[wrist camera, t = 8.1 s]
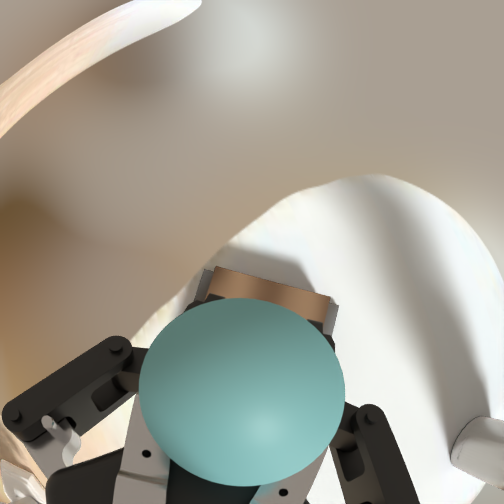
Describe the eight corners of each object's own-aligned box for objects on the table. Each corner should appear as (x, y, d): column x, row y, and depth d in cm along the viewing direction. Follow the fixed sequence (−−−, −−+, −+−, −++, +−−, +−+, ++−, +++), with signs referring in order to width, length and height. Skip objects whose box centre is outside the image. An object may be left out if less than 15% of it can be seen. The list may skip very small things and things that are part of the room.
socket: (337, 306, 30) (348, 301, 26) (309, 404, 27) (317, 414, 23) (205, 270, 32) (197, 260, 28) (175, 366, 29) (163, 370, 25)
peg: (289, 333, 18) (366, 324, 5) (274, 387, 17) (308, 498, 4) (233, 319, 19) (169, 273, 5) (218, 372, 17) (124, 447, 4)
